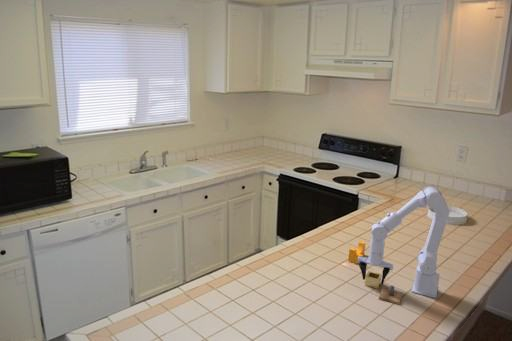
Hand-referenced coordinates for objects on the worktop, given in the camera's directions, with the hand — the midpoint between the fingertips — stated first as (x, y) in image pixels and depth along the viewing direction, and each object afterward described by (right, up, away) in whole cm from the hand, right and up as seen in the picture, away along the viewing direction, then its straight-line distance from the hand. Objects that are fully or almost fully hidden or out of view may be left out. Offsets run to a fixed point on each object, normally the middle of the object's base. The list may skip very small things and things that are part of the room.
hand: (373, 281), depth 184 cm
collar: (0, -1, 0) cm, 1 cm away
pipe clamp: (-1, +4, +24) cm, 24 cm away
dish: (+67, +17, +82) cm, 107 cm away
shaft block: (+5, -4, -9) cm, 11 cm away
